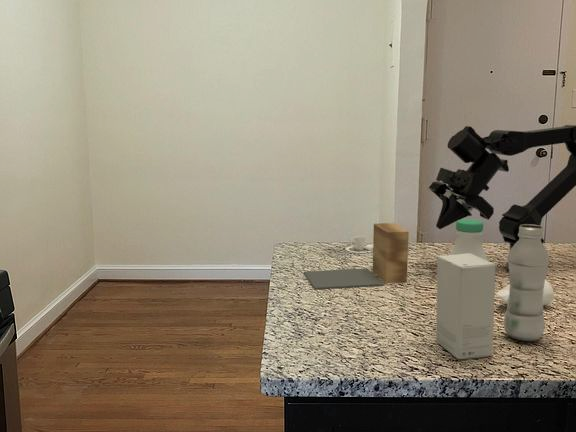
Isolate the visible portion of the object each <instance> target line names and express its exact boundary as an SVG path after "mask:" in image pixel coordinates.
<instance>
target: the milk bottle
mask: <svg viewBox="0 0 576 432" xmlns="http://www.w3.org/2000/svg"><path fill="white" fill-rule="evenodd" d="M455 228H456V229H455V233H456V239H455V241H454V244H453V247H452V249H451V250H450V251H449V253H448V255H456V254H466V253H471V254H473V255H475V256H477V257H480V258H482V259H484V260H487V261H489V260H488V256H487V254H486V252H485V248H484V246H483V242H482V235H483V234H484V233H483V230H484V222H483V221H482V220H478V219H474V218H462V219H460V220H458V221H456V222H455Z"/></svg>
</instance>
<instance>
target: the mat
mask: <svg viewBox="0 0 576 432" xmlns="http://www.w3.org/2000/svg"><path fill="white" fill-rule="evenodd" d="M303 274H304V276H305V277H306V279H307V281H308V282H309V283H310V285H311V286H312V288H313V289H314V290H330V289H333V290H334V289H348V288H349V289H350V288H363V287H364V288H365V287H383V286H385V282H383V281H382V280H380V278H379V277H378V276H377V275H376V274H375V273H374V272H373V271H371V270H369V268H367V267H366V268H365V267H364V268H363V267H362V268H348V269H346V268H345V269H343V268H342V269H328V270H327V269H326V270H310V271H309V270H308V271H306V270H305V271H303Z"/></svg>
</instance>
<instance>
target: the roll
mask: <svg viewBox="0 0 576 432" xmlns="http://www.w3.org/2000/svg"><path fill="white" fill-rule="evenodd" d="M543 290H544V291H543V306H548V305H550V304H552V302H553V301H554V300H555V299H554V298H555V292H554V289H553V286H552V285H551V283H550V282H548V280H546V279H545V283H544V288H543ZM509 292H510V283H508V284H507V285H505V287H503V288H501V290H498V292H496V293H495V295H496V296H497V297H498V298H499V299H501V301H502V302H504V303H506V304H507V305H508V299H509Z"/></svg>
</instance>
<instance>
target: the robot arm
mask: <svg viewBox="0 0 576 432" xmlns="http://www.w3.org/2000/svg"><path fill="white" fill-rule="evenodd" d="M447 142H448V143H447V148H448V149H449V150H450V151H451V152H452V153H453V154H454V155H456V157H458V158H459V159H460V160H461V161H462V162H463V163H465V164H469V163H471V165H470V166H468V168H467V169H465V170H464V169H459V168H458V169H457V170H456V171H453V170H451V169H450V170H449V169H448V168H445V167H444V168H443V167H440V168H439V170H438V173H437V176H436V178H435V181H432V182H431V184H430V185H429V187H428V189H429V191H431V192H432V193H433V194H434V195H435V196H436V197H437V198H438V199H439V200H441V203H442V206H441V209H440V213H439V216H438V219H437V221H436V224H435V225H436V228H437V229H439V230H442V229H444V228H446V227H448V226H450V225H451V224H455V223H456V222H457V221H458V220H461V219H466V218H468V217H472V216H473V214H472V211H474V209H475V210H477V211H478V212H479V216H480V218H483V219H485V220H488V221H489V220H491V218H492V217H493V215H494V210H495V208H494V207H493V206H492V205H491V203H489V202H488V201H487V200H486V199H485V198H484V197H483V196H481V193H482V192H483V191H484V192H485V191H486V192H488V190H489V189H490V186H489V185H488V184H489V183H490V182H491V180H492V179H493V178H494V177H495V175H496V174H497V173H498V172H499V171H502V172H507V173H508V172H509V171H510V169H509V164H508V161H509V160H508V159H503V158H501V157H500V156H498V155H501V156H510V157H511V156H512V157H513V156H514V155H515V156H516V155H519V154H521V153H524V152H526V151H527V150H529V149H532V148H537V147H538V148H539V147H544V146H551V145H553V146H554V145H560V144H565V148H566V150H567V151H568V153H570V155H569V156H568V161H567V163H566V164H567V165H566V166H565V167H564V168H563V169H562V170H561V171H560V172H559V173H558V174H557V175H556V176H555V177H553V178H552V179H551V180H550V181H549V182H548V183H547V184H546V185H545V186H544V187H543V188H542V189H541V190H540V191H539V192H538V193H537V194H536V195H535V196H533V198H532V199H531V200H530V201H529V202H527V203H526V204H524V205H518V204H512V205H511V206H510V207H509V209H508V210H506V211H505V212H504V213H502V214H501V216H502V217H501V219H500V220H499V222H498V224H499V225H498V230H499V233H500V235H502V238H503V242H504V243H508V244H509V250H510V249H511V248H512V247H513V246H514V244H515V243H516V242H517V241H518V240H519V238H520V237H518V233H519V227H520V225H525V224H530V225H539V226H541V224H542V221H543V218H544V217H545V216H546V215H547V214H548V213H549V212H550V211H551V210H552V209H553V208H554V207H555V206H556V205H557V204H558V203H559V202H560V201H561V200H562V199H564V198H565V197H566V196H567V195H568V194H569V193H570V192H571V191H572V190H573V189H574V188H575V187H576V125H575V124H565V125H563V126H557V127H556V126H555V127H548V128H541V129H533V130H526V131H519V130H517V131H516V130H506V129H505V130H504V129H503V130H502V129H495V130H493V131H491V132H490V134H489V135H487V136H484V137H481V136H480V135H479V133H477V132H476V130H475V128H473V127H472V126H468V125H465V126H464V128H463V129H461V130H459V131H458V132H456V133H455V134H454V135H452V136H451V137H450V139H449V140H448V141H447ZM541 242H542V244H543V245H544V243H545V239H544V237H543V238H542V239H541ZM505 267H506V271H507V272H509V264H508V262H507V263H506V266H505Z"/></svg>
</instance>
